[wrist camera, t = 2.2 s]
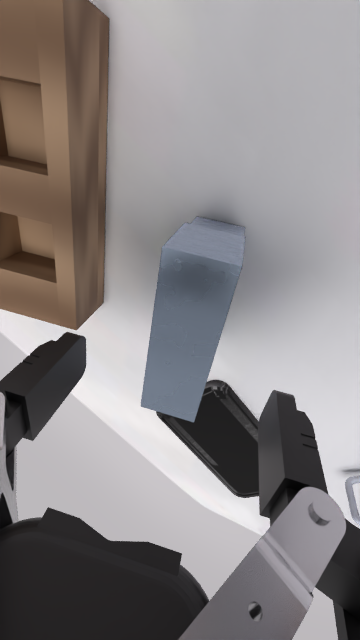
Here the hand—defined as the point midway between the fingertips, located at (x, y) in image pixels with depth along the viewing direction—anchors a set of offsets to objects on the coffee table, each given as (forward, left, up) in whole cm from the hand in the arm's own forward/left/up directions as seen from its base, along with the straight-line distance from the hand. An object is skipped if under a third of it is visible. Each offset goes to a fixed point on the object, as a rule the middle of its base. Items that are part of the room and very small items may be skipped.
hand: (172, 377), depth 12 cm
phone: (+16, +6, -10) cm, 19 cm away
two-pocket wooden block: (-4, -11, -9) cm, 15 cm away
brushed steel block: (0, 0, -9) cm, 9 cm away
